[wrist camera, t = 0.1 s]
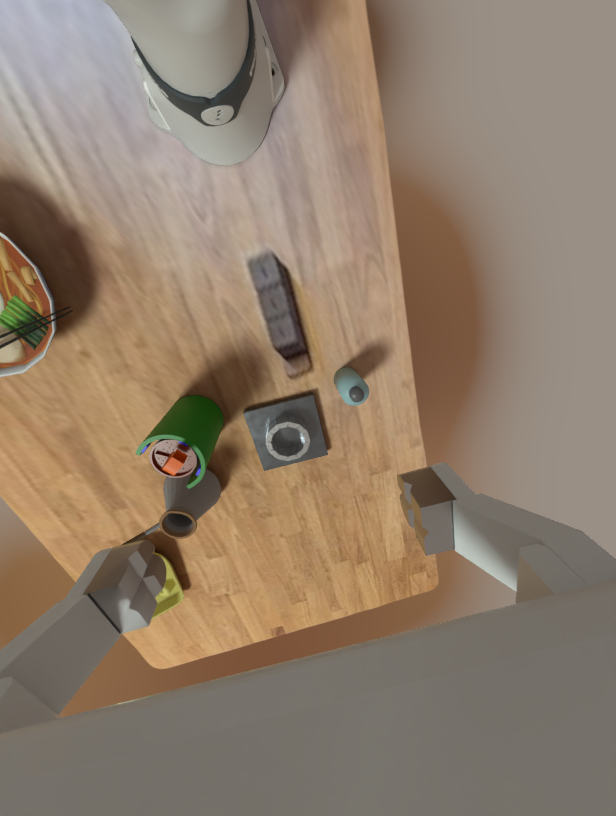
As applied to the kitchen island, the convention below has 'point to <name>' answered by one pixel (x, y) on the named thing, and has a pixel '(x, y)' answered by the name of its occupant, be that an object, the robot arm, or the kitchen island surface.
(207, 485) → the coffee pot
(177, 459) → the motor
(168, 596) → the plastic component
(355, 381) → the capped teal cylinder
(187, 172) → the kitchen island surface
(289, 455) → the motor mount
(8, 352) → the ramen bowl
